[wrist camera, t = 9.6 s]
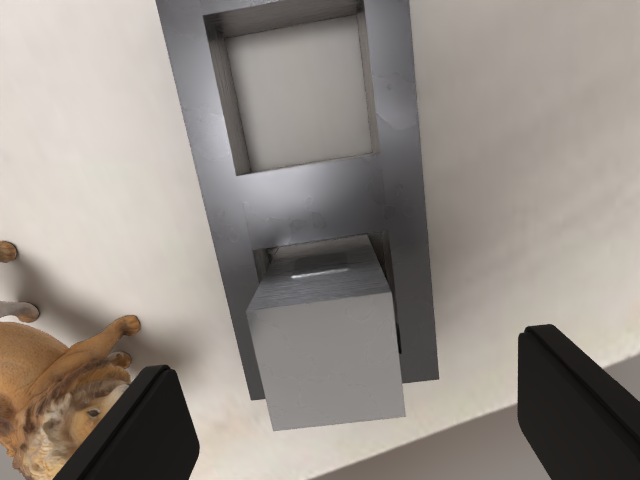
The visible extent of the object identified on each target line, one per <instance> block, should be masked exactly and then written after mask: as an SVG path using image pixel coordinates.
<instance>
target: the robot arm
mask: <svg viewBox="0 0 640 480" xmlns="http://www.w3.org/2000/svg"><path fill="white" fill-rule="evenodd" d="M518 422H519V425H520V428H521V430H522V432H523V434H524V436H525V437H526V439H527V440H528V442H529V444H530V445H531V447H532V449H533V450H534V452H535V454H536V455H537V457H538V458H539V460H540V462H541V463H542V465H543V466H544V468H545V470H546V471H547V473H548V475H549V476H550V478H551V479H552V480H640V402H639V401H638V400H637V399H636V398H635V397H634V396H632V395H631V394H630V393H629V392H628V391H627V390H626V389H625V388H624V387H622V386H621V385H620V384H619V383H618V382H617V381H615V380H614V379H613V378H612V377H611V376H610V375H609V374H607V373H606V372H605V371H604V370H603V369H602V368H601V367H600V366H599V365H597V364H596V363H595V362H594V361H593V360H592V359H591V358H590V357H589V356H587V355H586V354H585V353H584V352H583V351H582V350H581V349H580V348H579V347H577V346H576V345H575V344H574V343H573V342H572V341H571V340H570V339H569V338H567V337H566V336H565V335H564V334H563V333H562V332H561V331H560V330H558V329H557V328H556V327H555V326H554V325H552V324H546V325H537V326H528V327H526V328H525V331H524V333H520V334H519V337H518ZM199 449H200V446H199V441H198V438H197V435H196V432H195V428H194V425H193V422H192V419H191V416H190V413H189V410H188V407H187V404H186V401H185V398H184V395H183V392H182V389H181V385H180V382H179V379H178V376H177V373H176V371H175V370H173V369H170V367H169V366H168V365H158V366H149V367H145V368H144V369H143V370H142V371H141V372H140V373H139V375H138V376H137V377H136V378H135V379H134V381H133V382H132V383H131V384H130V385H129V387H128V388H127V389H126V390H125V392H124V393H123V394H122V395H121V396H120V398H119V399H118V400H117V401H116V402H115V404H114V405H113V406H112V407H111V409H110V410H109V411H108V412H107V413H106V415H105V416H104V417H103V418H102V420H101V421H100V422H99V423H98V424H97V426H96V427H95V428H94V429H93V430H92V432H91V433H90V434H89V435H88V437H87V438H86V439H85V440H84V441H83V443H82V444H81V445H80V446H79V447H78V449H77V450H76V451H75V452H74V454H73V455H72V456H71V457H70V458H69V460H68V461H67V462H66V463H65V464H64V466H63V467H62V468H61V469H60V471H59V472H58V473H57V474H56V475H55V477H54V478H53V479H52V480H189V477H190V475H191V473H192V470H193V468H194V466H195V463H196V461H197V459H198V456H199Z"/></svg>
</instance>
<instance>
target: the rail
mask: <svg viewBox="0 0 640 480" xmlns="http://www.w3.org/2000/svg"><path fill="white" fill-rule="evenodd" d="M156 4H157V9H158V13H159V17H160V21H161V25H162V30H163V34H164V38H165V42H166V46H167V50H168V55H169V59H170V63H171V67H172V71H173V76H174V80H175V84H176V88H177V92H178V97H179V101H180V105H181V109H182V113H183V118H184V122H185V126H186V130H187V134H188V138H189V143H190V147H191V151H192V155H193V159H194V164H195V168H196V172H197V176H198V180H199V185H200V189H201V193H202V197H203V201H204V205H205V210H206V214H207V218H208V222H209V226H210V231H211V235H212V239H213V243H214V247H215V252H216V256H217V260H218V264H219V268H220V272H221V277H222V281H223V285H224V289H225V293H226V298H227V302H228V306H229V310H230V314H231V319H232V323H233V327H234V331H235V335H236V339H237V344H238V348H239V352H240V356H241V360H242V365H243V369H244V373H245V377H246V381H247V386H248V390H249V394H250V398H251V400H260V399H266V397H265V393H264V389H263V384H262V380H261V376H260V371H259V367H258V363H257V358H256V354H255V350H254V345H253V341H252V337H251V332H250V328H249V324H248V319H247V315H246V310H247V308H248V306H249V304H250V302H251V300H252V298H253V297H254V295H255V293H256V291H257V289H258V287H259V285H260V283H261V281H262V279H263V277H264V275H265V273H266V272H267V270H268V268H269V266H270V264H269V259H268V254H267V249H266V248H270V247H277V246H284V245H291V244H298V243H305V242H312V241H319V240H326V239H333V238H340V237H347V236H354V235H361V234H368V233H375V232H382V241H383V250H384V259H385V267H386V276H387V283H388V285H389V287H390V290H391V292H392V300H393V309H394V318H395V327H396V335H397V344H398V353H399V361H400V370H401V379H402V383H411V382H420V381H428V380H437V379H439V370H438V358H437V346H436V333H435V321H434V308H433V296H432V283H431V271H430V258H429V246H428V233H427V221H426V208H425V196H424V183H423V171H422V158H421V146H420V133H419V121H418V108H417V96H416V83H415V71H414V58H413V46H412V33H411V21H410V8H409V0H156ZM353 14H357V21H358V30H359V39H360V48H361V56H362V65H363V74H364V83H365V91H366V100H367V109H368V118H369V127H370V135H371V144H372V153H369V154H362V155H356V156H350V157H343V158H337V159H330V160H324V161H318V162H311V163H305V164H299V165H292V166H286V167H280V168H273V169H267V170H261V171H254V172H251V169H250V164H249V159H248V154H247V149H246V144H245V139H244V134H243V129H242V124H241V119H240V114H239V109H238V104H237V99H236V94H235V89H234V84H233V79H232V74H231V69H230V64H229V59H228V54H227V49H226V45H225V40H224V38H228V37H234V36H239V35H244V34H250V33H255V32H261V31H266V30H271V29H277V28H282V27H288V26H293V25H298V24H304V23H309V22H315V21H320V20H326V19H331V18H336V17H342V16H347V15H353Z"/></svg>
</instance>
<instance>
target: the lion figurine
mask: <svg viewBox="0 0 640 480" xmlns="http://www.w3.org/2000/svg"><path fill="white" fill-rule="evenodd" d="M16 253H17V252H16V249H15V247H14V246H13V245H12V244H10V243H8V242H4V241H0V262H3V263H7V262H10V261H12V260H14V259H15V258H16ZM8 315H14V316H17V317H18V318H19V320H20V321H22V322H26V323H31V322H34V321H35V320H36V319H37V317H38V316H39V312H38V310H37V308H36V307H34V306H33V305H32V304H30V303H26V302H5V301H0V318H1V317H4V316H8ZM139 330H140V324H139V321H138V320H137V318H136V316H125V317H122V318H119V319H117V320H116V321H114V322H113V323H112V324H110V325H109V326H107V328H106V329H105V330H104V331H102V332H101V333H99V334H98V335H96V336H94V337H91V338H90V339H88V340H85V341H82V342H78V343H76V344H74V345H73V346H71V347H70V348H68V347H67V346H66V345H64V344H63V343H61V342H60V341H58V340H57V339H55V338H54V337H52V336H51V335H49V334H47V333H45V332H43V331H40V330H38V329H36V328H33V327H30V326H27V325H24V324H20V323H15V322H0V442H1V444H2V445H3V446H5V447H6V448H7V454H8V456H9V457H14V459H13V463H12V466H13V468H14V469H18V471H19V472H20V473H22V474H23V476H24V477H25V478H26V480H52V479H53V478H54V477H55V475H56V474H57V473H58V472H59V471H60V469H61V468H62V467H63V466H64V464H65V463H66V462H67V461H68V460H69V458H70V457H71V456H72V455H73V454H74V452H75V451H76V450H77V449H78V447H79V446H80V445H81V444H82V443H83V441H84V440H85V439H86V438H87V437H88V435H89V434H90V433H91V432H92V430H93V429H94V428H95V427H96V426H97V424H98V423H99V422H100V421H101V420H102V418H103V417H104V416H105V415H106V413H107V412H108V411H109V410H110V409H111V407H112V406H113V405H114V404H115V402H116V401H117V400H118V399H119V398H120V396H121V395H122V394H123V393H124V392H125V390H126V389H127V388H128V387H129V385H130V384H131V383H132V382H131V381H130V375H129V374H128V372H127V371H126V370H124V369H125V368H127V367H129V365H130V361H131V358H130V356H129V355H127V354H126V353H124V352H114V353H112V354H110V355H108V354H109V352H110V351H111V349H112V348H113V346H114V345H115V343H116V341H117V340H118V339H119V338H121V337H122V336H123V335H127V336H132V335H134V334H135V333H136V332H138V331H139Z"/></svg>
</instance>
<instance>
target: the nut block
mask: <svg viewBox="0 0 640 480" xmlns="http://www.w3.org/2000/svg"><path fill="white" fill-rule="evenodd" d="M246 315H247V319H248V324H249V328H250V332H251V337H252V341H253V345H254V350H255V354H256V358H257V363H258V367H259V371H260V376H261V380H262V384H263V389H264V393H265V397H266V402H267V406H268V410H269V415H270V419H271V424H272V428H273V431H279V430H288V429H297V428H306V427H316V426H325V425H334V424H343V423H352V422H362V421H371V420H380V419H389V418H398V417H406V414H405V405H404V396H403V388H402V379H401V370H400V361H399V353H398V344H397V335H396V327H395V318H394V309H393V300H392V292H391V290H390V287H389V285H388V283H387V280H386V278H385V275H384V273H383V271H382V268H381V266H380V264H379V261H378V259H377V257H376V254H375V252H374V250H373V247H372V245H371V243H370V240H369V238H368V236H367V235H362V236H355V237H348V238H341V239H335V240H328V241H321V242H314V243H307V244H300V245H293V246H286V247H279V248H278V250H277V252H276V254H275V256H274V258H273V260H272V262H271V264H270V266H269V268H268V270H267V272H266V273H265V275H264V277H263V279H262V281H261V283H260V285H259V287H258V289H257V291H256V293H255V295H254V297H253V298H252V300H251V302H250V304H249V306H248V308H247V310H246Z"/></svg>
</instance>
